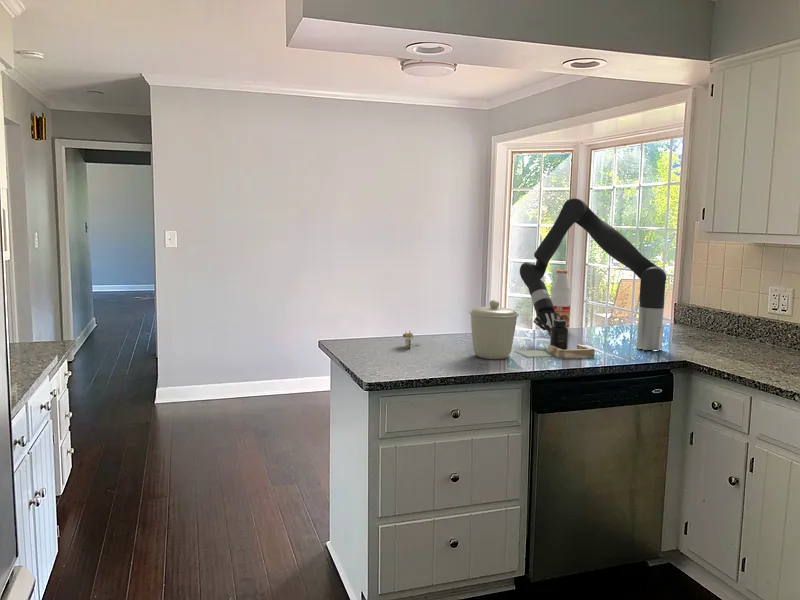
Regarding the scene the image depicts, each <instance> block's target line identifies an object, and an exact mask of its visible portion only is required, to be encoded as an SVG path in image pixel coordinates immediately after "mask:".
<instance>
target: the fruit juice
mask: <svg viewBox="0 0 800 600" xmlns="http://www.w3.org/2000/svg"><path fill="white" fill-rule="evenodd" d="M555 273H556V276H555V279H554V281H553V283H552V285H551V286H550V298H551V301H552V303H553V306H554V310H555V313H556V314H557V316H558V317H560V318H561V317H563V320H566V327H567V328H568V330H569V331H570V316H571V298H570V296H571V293H572V288H571V286H570V282H569V280H568V270H562V269H556V271H555Z"/></svg>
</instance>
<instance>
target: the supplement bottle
mask: <svg viewBox="0 0 800 600" xmlns="http://www.w3.org/2000/svg"><path fill="white" fill-rule="evenodd" d="M553 325H554V326H553V327H552V328H551V335H549V337H550V338H549V345H552V346H555V347H557V348H560V349H562V350H569V332H570V329H569V330H568V328H567V327H566V320H554V323H553Z"/></svg>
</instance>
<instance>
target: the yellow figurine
mask: <svg viewBox="0 0 800 600" xmlns="http://www.w3.org/2000/svg"><path fill="white" fill-rule="evenodd" d="M408 331H409V332H407V331H405V333H402V338H403V339H404V340H405V341H404V343H405V348H407V344H408V347H409V346H410V347H409V348H411V344H412V343H411V341H412V340H414V334H413V332H412V333H411V330H408Z"/></svg>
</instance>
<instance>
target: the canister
mask: <svg viewBox="0 0 800 600" xmlns="http://www.w3.org/2000/svg"><path fill="white" fill-rule="evenodd" d="M488 305H489V306H479V307H474V308H472V309H471V310H469V311H468V314H470V326H471V337H472V338H471V339H472V348H473V349H472V350H473V352H474V353H473V354H475V355H476V357H479V358H482V359H484V360H485V359H486V360H503V359H507V358H509V356H510V355H511V353H512V348H513V344H514V337H515V331H516V325H517V320H518V319H517V318H518V317H519V315H520V314H519V313H518V312H517V311H516V310H514V309H512V308H508V307H502V306H500V301H498V300H497V299H493V300H490V302H489V304H488Z"/></svg>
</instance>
